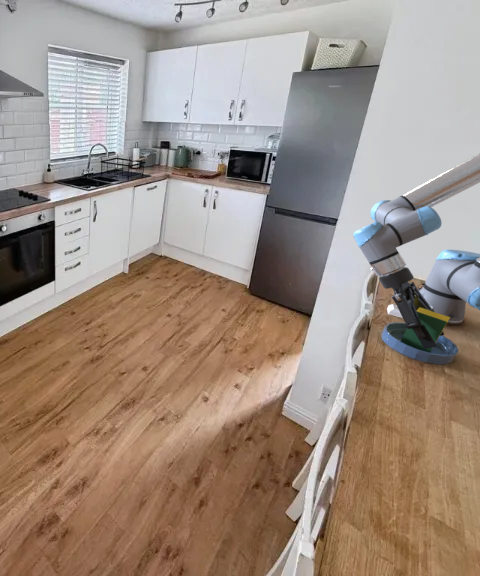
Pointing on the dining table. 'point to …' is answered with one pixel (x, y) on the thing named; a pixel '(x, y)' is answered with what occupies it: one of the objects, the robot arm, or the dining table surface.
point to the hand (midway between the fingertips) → (434, 341)
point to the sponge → (433, 325)
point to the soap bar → (394, 311)
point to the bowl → (438, 354)
